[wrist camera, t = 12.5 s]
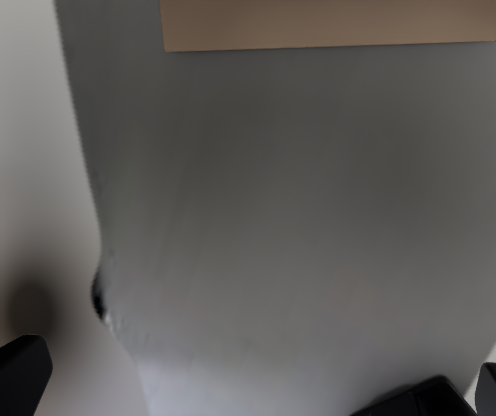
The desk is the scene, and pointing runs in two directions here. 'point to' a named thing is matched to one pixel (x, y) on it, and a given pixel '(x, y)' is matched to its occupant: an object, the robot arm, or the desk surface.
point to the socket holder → (322, 23)
